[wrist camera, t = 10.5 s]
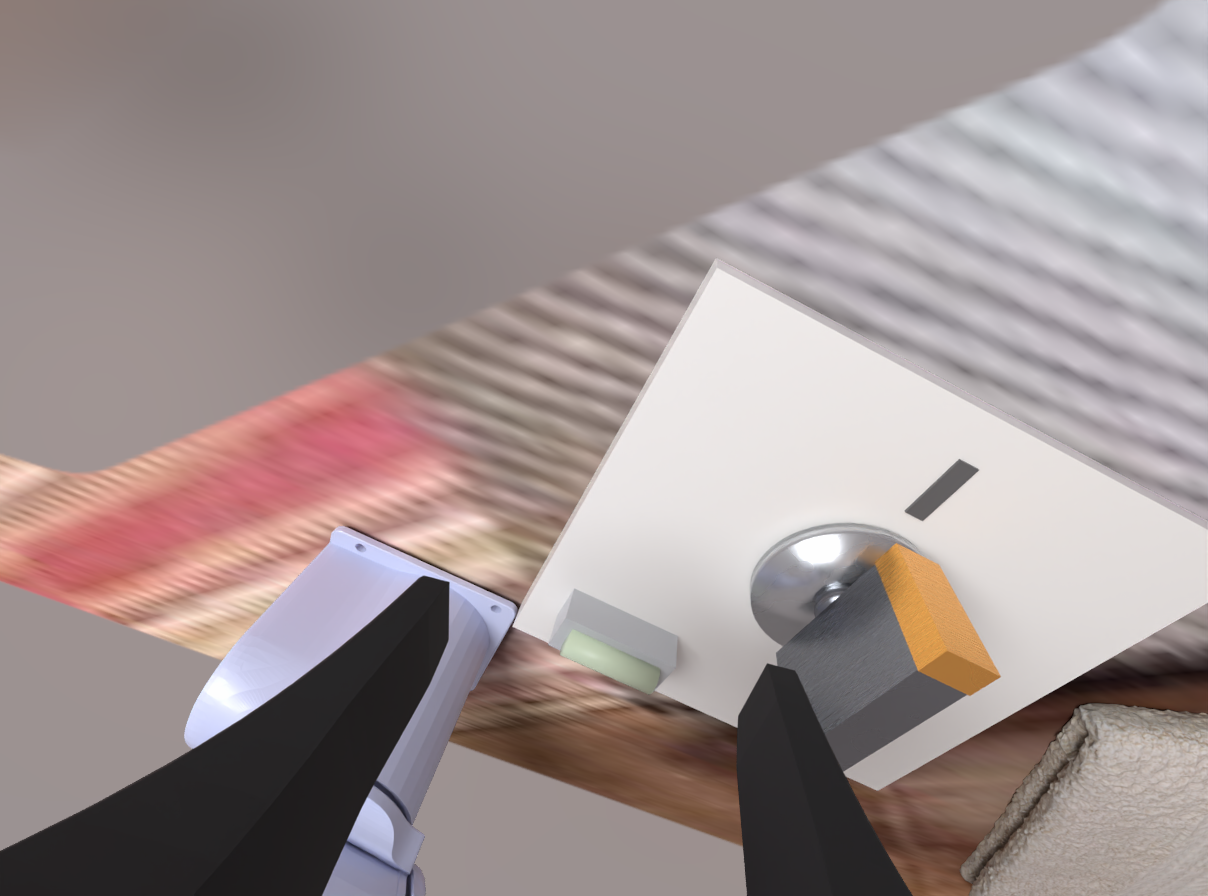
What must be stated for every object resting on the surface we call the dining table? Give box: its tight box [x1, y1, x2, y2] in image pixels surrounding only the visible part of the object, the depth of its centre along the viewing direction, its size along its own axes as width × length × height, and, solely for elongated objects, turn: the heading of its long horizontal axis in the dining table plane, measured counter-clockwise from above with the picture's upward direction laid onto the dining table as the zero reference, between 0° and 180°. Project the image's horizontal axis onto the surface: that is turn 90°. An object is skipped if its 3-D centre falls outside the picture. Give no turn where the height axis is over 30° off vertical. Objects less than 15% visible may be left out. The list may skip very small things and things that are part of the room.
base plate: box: [512, 258, 1208, 791], centre depth 20 cm, size 20×18×4 cm
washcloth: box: [960, 703, 1208, 896], centre depth 25 cm, size 12×18×3 cm, turn 3°
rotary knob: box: [750, 523, 1001, 772], centre depth 17 cm, size 7×6×5 cm
